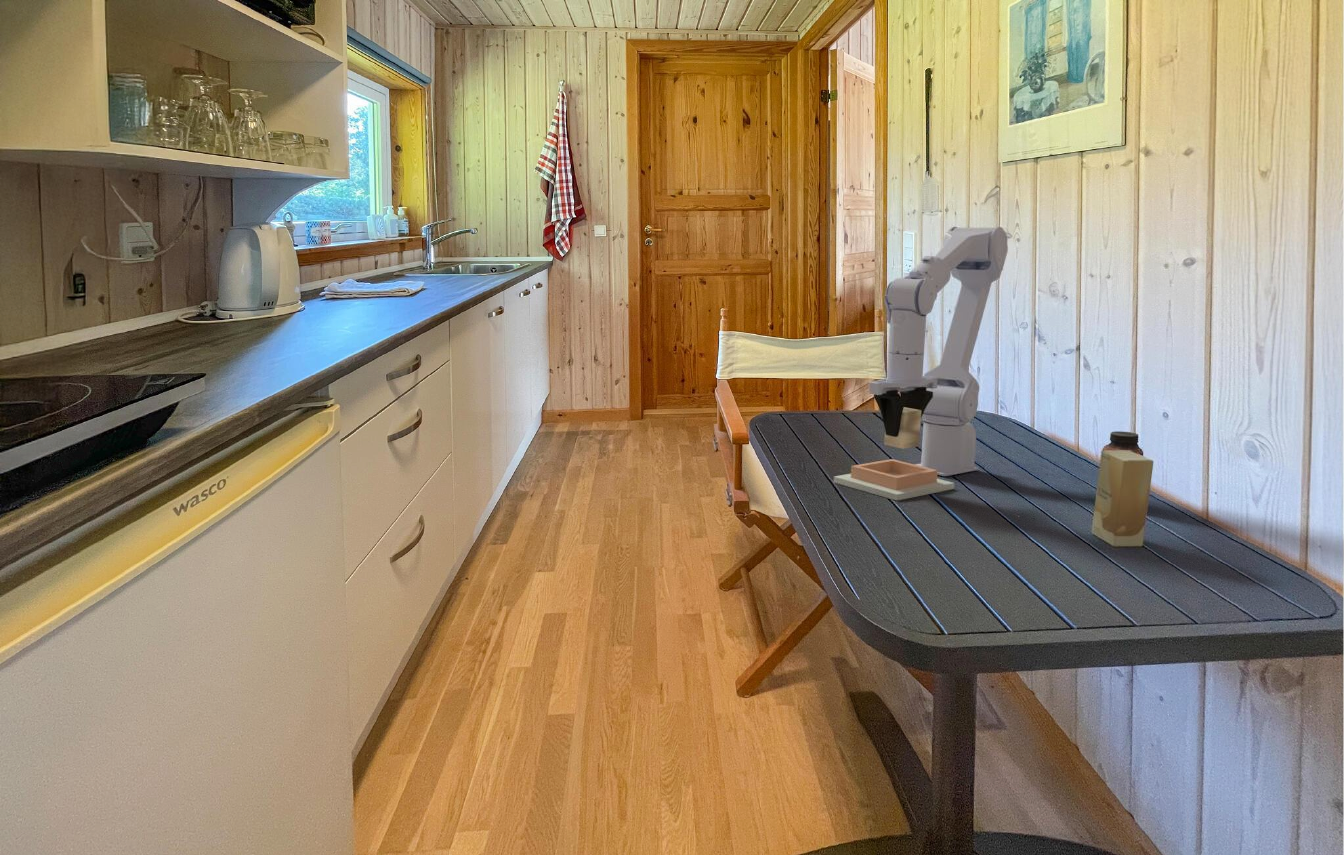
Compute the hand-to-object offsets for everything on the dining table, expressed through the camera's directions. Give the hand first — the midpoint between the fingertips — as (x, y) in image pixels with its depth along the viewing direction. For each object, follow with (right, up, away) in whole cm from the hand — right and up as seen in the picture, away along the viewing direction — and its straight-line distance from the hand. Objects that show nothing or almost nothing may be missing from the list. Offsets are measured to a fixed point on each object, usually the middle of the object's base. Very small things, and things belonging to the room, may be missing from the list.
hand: (901, 434), depth 160 cm
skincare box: (+24, -15, -26) cm, 38 cm away
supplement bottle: (+33, -11, -7) cm, 35 cm away
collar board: (-1, -9, +2) cm, 9 cm away
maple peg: (0, -2, 0) cm, 2 cm away
